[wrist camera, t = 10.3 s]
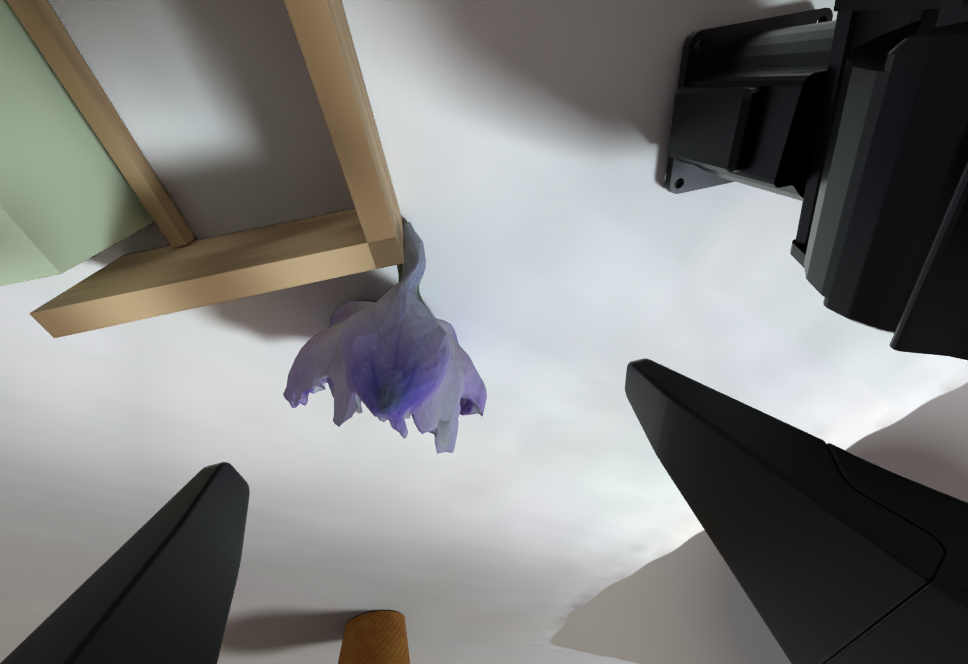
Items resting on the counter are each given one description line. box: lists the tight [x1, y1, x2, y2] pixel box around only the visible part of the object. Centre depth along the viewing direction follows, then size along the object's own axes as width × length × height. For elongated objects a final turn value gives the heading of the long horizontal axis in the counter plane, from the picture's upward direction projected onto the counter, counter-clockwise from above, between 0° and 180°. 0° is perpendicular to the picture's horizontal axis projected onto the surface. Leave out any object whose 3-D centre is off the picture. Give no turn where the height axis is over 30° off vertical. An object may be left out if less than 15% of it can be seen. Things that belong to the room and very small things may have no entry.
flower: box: [283, 222, 487, 454], centre depth 17 cm, size 9×9×10 cm
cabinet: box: [6, 0, 404, 338], centre depth 11 cm, size 14×12×6 cm
